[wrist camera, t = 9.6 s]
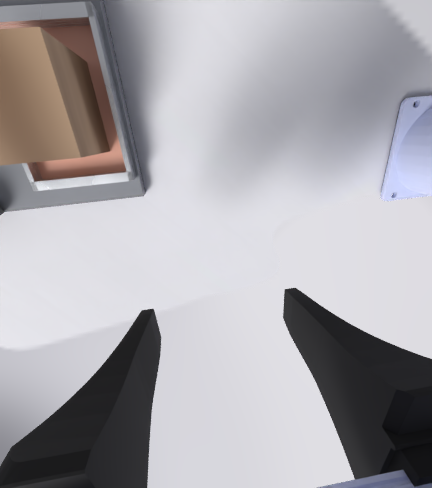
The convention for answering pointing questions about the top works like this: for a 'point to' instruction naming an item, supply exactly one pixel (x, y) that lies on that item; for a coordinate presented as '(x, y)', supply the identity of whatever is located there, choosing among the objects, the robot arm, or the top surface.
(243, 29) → the top surface
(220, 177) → the top surface
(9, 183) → the chassis
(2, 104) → the block
